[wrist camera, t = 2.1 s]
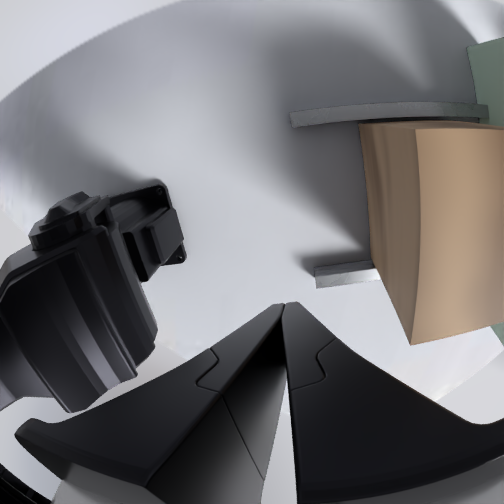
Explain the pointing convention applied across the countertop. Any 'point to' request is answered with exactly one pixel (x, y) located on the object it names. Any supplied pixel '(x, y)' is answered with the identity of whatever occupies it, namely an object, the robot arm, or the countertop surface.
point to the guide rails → (367, 269)
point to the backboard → (490, 95)
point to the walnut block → (437, 222)
